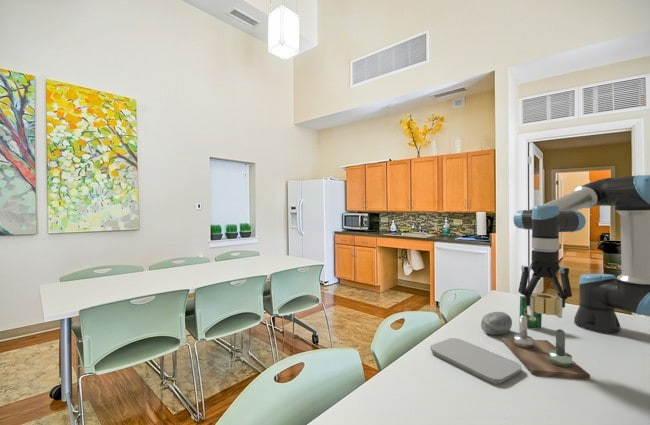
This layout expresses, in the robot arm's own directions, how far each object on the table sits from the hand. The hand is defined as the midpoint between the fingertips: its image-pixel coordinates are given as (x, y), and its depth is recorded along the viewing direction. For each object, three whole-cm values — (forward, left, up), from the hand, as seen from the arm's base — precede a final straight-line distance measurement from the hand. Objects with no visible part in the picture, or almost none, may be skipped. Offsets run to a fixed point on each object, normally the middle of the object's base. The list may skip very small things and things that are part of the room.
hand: (544, 315), depth 105 cm
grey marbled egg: (+7, -22, -16) cm, 28 cm away
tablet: (+24, +5, -16) cm, 30 cm away
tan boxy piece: (0, 0, +2) cm, 2 cm away
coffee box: (-10, -31, -16) cm, 36 cm away
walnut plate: (0, -1, -15) cm, 16 cm away
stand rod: (+3, -7, -14) cm, 16 cm away
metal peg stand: (-3, +5, -14) cm, 15 cm away
